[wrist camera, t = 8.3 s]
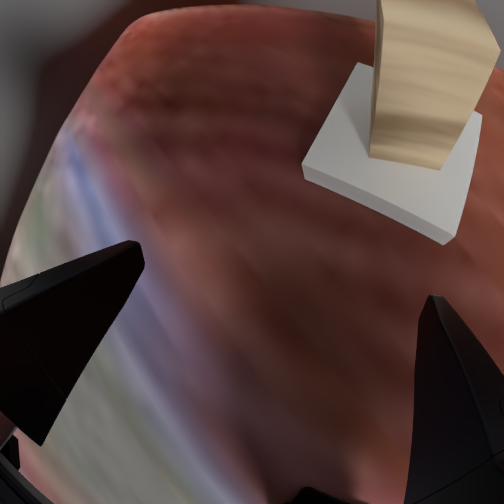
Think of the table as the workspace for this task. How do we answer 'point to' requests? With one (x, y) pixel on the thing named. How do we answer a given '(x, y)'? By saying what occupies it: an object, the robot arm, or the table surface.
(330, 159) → the tile base
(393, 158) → the oak block
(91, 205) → the table surface
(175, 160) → the table surface
